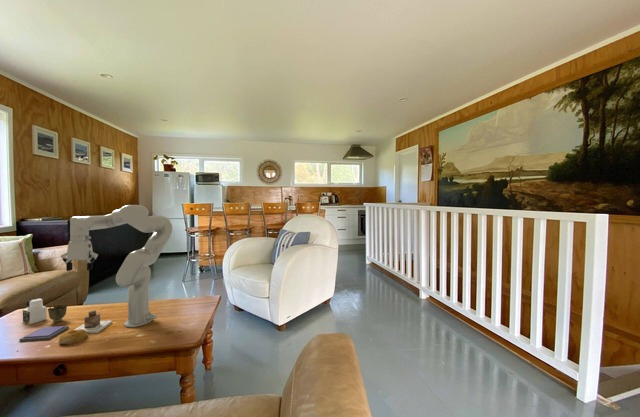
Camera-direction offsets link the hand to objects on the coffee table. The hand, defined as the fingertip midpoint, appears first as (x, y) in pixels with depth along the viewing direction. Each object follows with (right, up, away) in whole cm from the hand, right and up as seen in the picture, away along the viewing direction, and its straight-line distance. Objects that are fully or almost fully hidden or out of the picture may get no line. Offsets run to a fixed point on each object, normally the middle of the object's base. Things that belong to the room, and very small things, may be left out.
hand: (79, 270), depth 145 cm
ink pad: (-4, -28, -15) cm, 32 cm away
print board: (+13, -28, -8) cm, 32 cm away
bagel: (+15, -29, -19) cm, 38 cm away
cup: (-12, -29, 0) cm, 31 cm away
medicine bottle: (-26, -28, +1) cm, 38 cm away
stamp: (+13, -27, -8) cm, 31 cm away
